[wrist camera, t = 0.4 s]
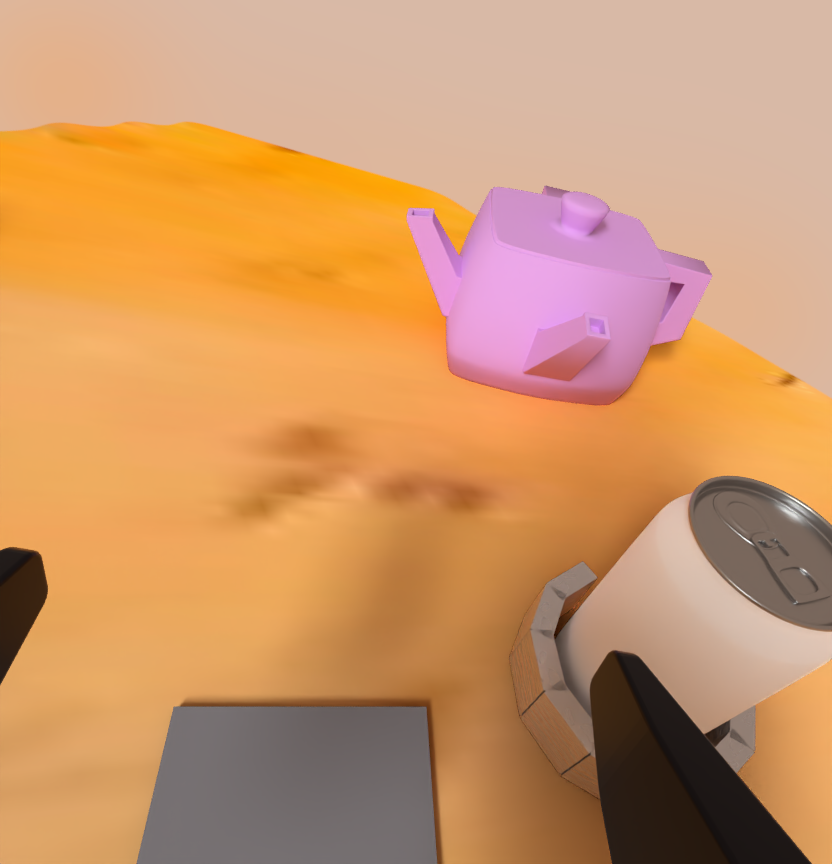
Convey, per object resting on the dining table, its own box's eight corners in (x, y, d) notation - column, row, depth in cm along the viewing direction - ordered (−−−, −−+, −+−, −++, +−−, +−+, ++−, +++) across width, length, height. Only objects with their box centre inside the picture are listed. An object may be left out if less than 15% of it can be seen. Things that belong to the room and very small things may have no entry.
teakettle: (664, 376, 45) (755, 235, 37) (541, 457, 36) (626, 291, 27) (514, 277, 53) (560, 141, 44) (379, 322, 43) (406, 159, 35)
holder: (753, 806, 23) (801, 789, 21) (537, 814, 21) (566, 796, 19) (665, 595, 29) (695, 566, 27) (496, 589, 28) (514, 557, 26)
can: (631, 610, 28) (779, 458, 20) (708, 744, 24) (935, 621, 16) (522, 634, 26) (638, 474, 18) (586, 785, 22) (774, 667, 14)
